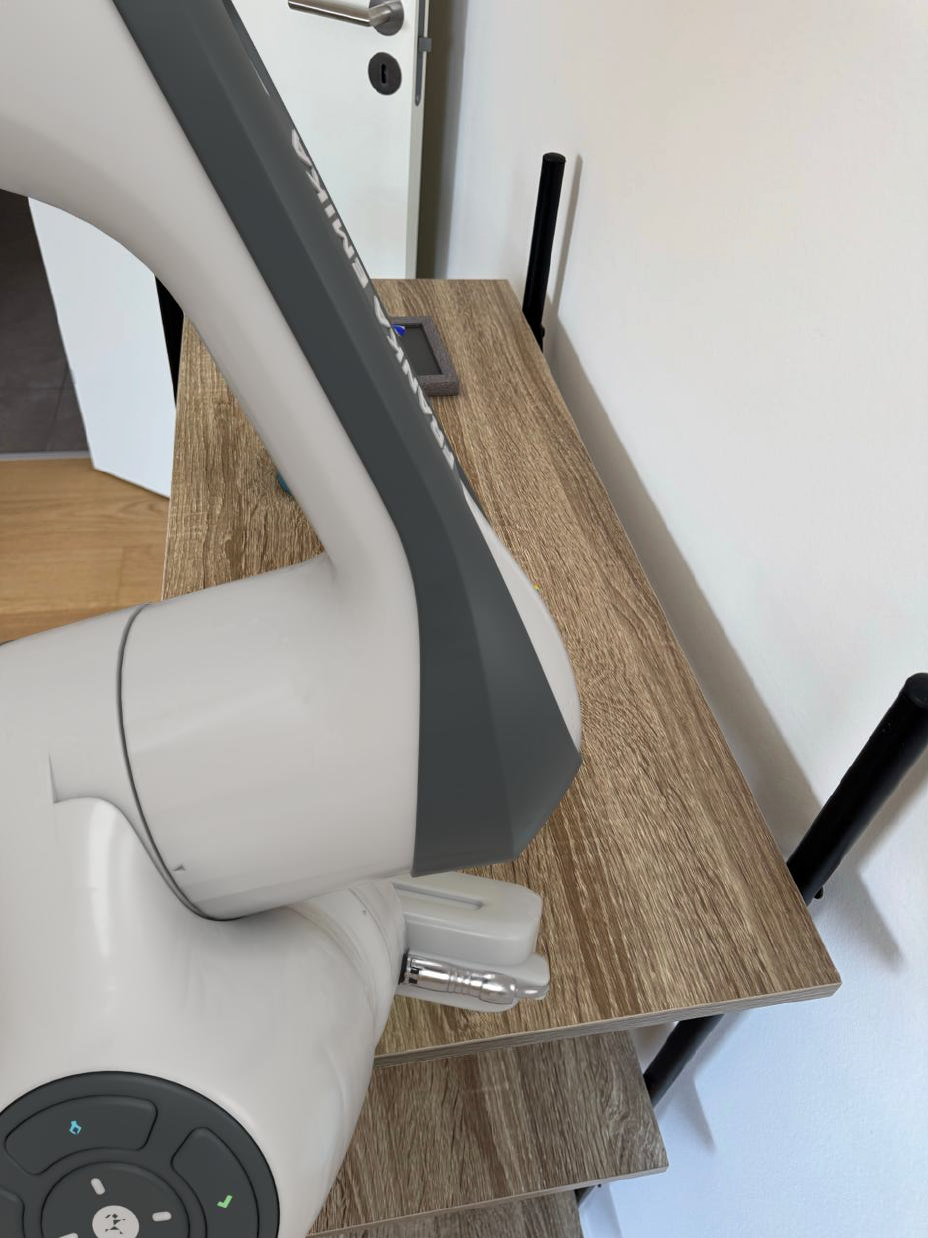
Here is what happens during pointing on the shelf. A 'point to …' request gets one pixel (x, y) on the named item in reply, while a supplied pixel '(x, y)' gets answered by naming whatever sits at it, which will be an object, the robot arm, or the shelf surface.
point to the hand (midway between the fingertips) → (350, 855)
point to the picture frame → (428, 355)
